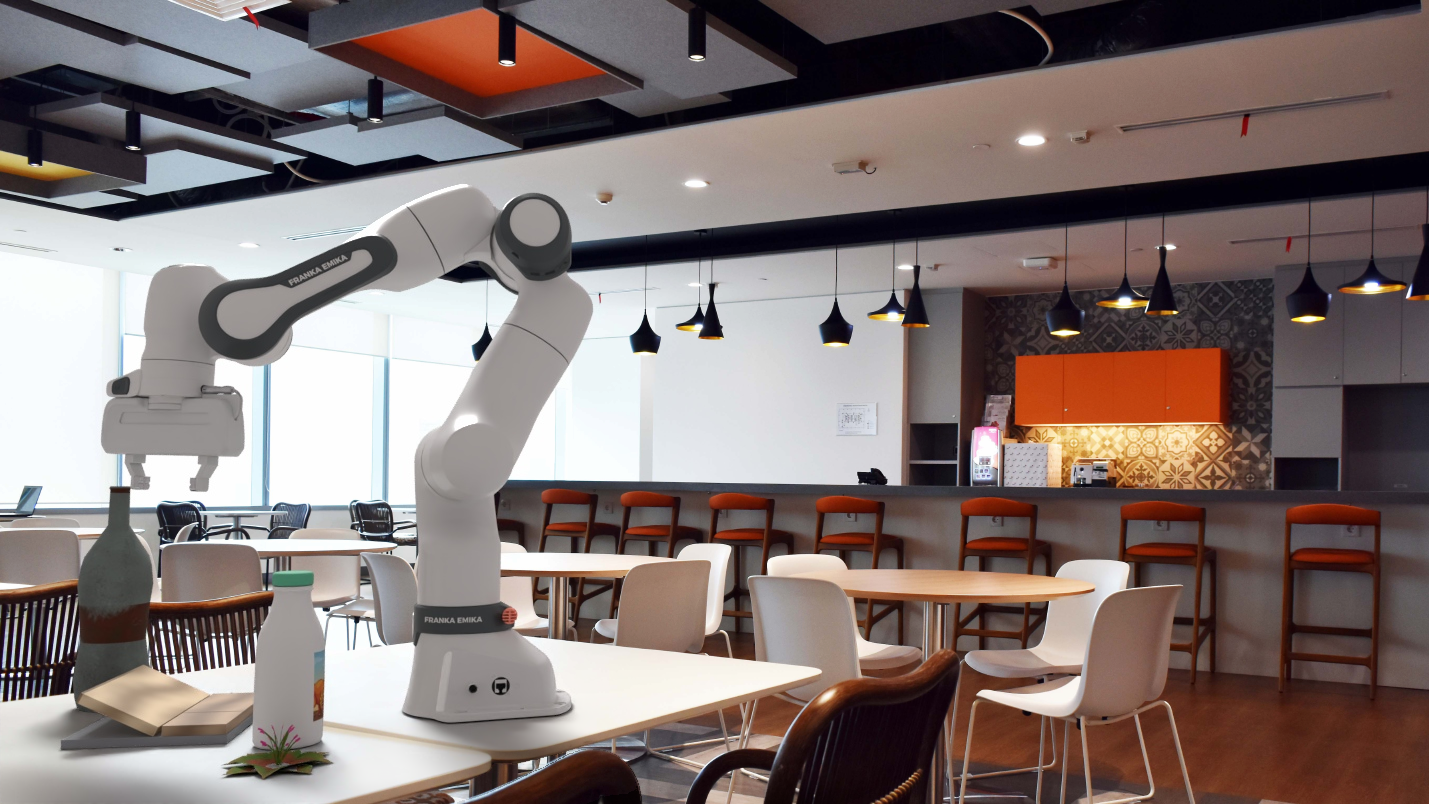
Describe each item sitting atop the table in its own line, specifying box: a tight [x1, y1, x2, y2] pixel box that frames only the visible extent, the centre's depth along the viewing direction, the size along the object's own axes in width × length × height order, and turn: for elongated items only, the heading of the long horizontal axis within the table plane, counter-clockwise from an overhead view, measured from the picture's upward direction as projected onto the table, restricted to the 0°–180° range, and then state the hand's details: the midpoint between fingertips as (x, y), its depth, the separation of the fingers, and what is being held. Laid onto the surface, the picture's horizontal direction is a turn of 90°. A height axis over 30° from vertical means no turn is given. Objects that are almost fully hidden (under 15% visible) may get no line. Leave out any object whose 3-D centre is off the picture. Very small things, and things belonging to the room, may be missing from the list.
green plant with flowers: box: [220, 725, 334, 780], centre depth 115 cm, size 12×12×5 cm
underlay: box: [60, 714, 253, 750], centre depth 133 cm, size 18×20×1 cm
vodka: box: [72, 485, 154, 713], centre depth 147 cm, size 9×9×30 cm
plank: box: [74, 665, 211, 737], centre depth 133 cm, size 10×20×1 cm, turn 7°
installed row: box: [161, 691, 254, 737], centre depth 134 cm, size 7×20×1 cm, turn 9°
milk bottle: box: [251, 570, 326, 751], centre depth 126 cm, size 8×8×20 cm
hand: (169, 490), depth 139 cm, fingers open, 8 cm apart
